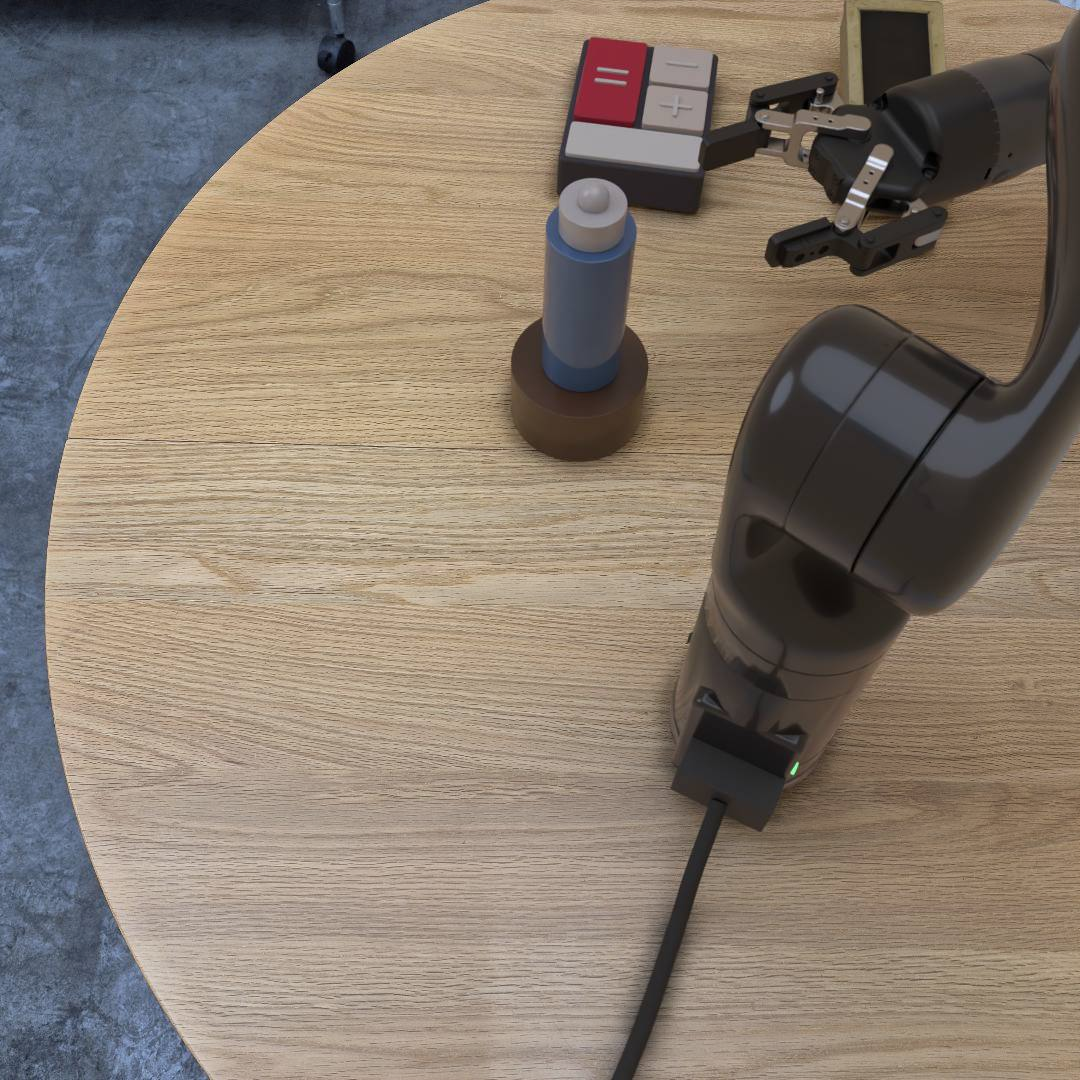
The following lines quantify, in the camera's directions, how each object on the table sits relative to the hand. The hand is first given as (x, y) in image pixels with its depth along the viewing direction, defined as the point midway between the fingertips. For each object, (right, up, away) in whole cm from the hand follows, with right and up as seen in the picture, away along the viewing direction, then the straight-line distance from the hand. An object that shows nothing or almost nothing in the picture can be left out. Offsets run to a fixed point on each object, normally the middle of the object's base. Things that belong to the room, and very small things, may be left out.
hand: (734, 202), depth 71 cm
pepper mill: (-9, -8, +7) cm, 14 cm away
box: (+16, +11, +25) cm, 31 cm away
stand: (-9, -11, +11) cm, 18 cm away
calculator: (-4, +12, +25) cm, 28 cm away
